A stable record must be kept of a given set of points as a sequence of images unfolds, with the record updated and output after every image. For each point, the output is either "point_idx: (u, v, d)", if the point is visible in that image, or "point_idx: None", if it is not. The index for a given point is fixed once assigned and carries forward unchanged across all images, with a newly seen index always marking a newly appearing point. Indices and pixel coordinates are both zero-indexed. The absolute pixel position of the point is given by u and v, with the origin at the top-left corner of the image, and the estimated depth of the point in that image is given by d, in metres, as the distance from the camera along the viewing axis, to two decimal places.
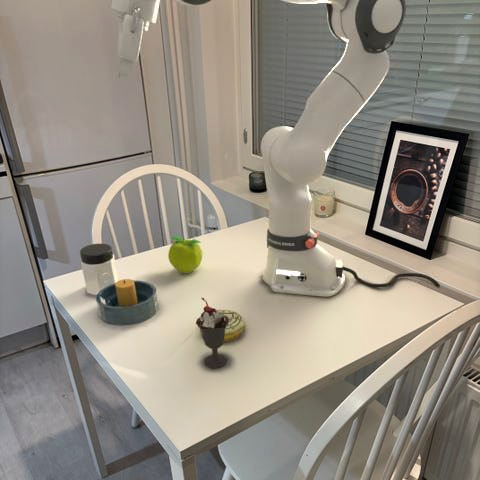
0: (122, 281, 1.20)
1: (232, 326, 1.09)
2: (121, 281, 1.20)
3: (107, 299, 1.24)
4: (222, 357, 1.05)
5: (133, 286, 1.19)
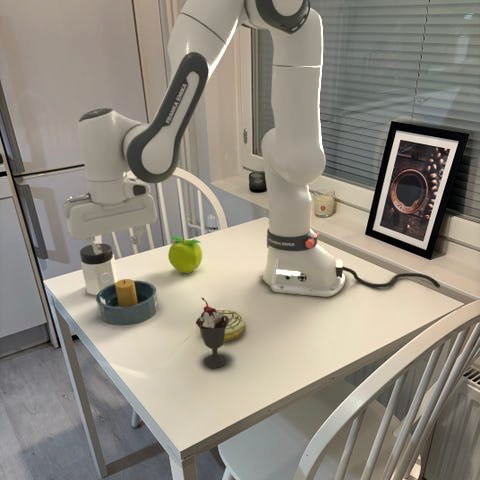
0: (122, 281, 1.20)
1: (232, 326, 1.09)
2: (121, 281, 1.20)
3: (107, 299, 1.24)
4: (222, 357, 1.05)
5: (133, 286, 1.19)
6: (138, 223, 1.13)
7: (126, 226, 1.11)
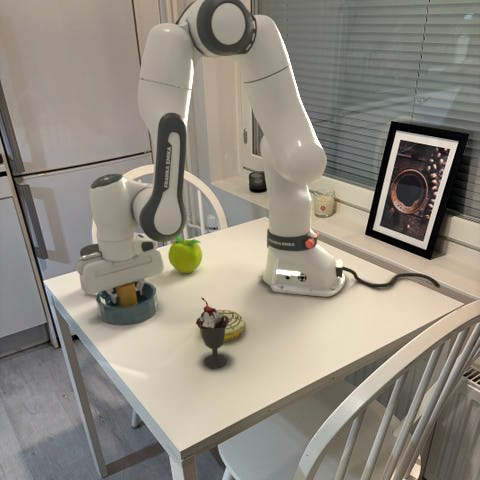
0: None
1: (232, 326, 1.09)
2: None
3: (107, 299, 1.24)
4: (222, 357, 1.05)
5: (133, 286, 1.19)
6: (146, 275, 1.20)
7: (135, 278, 1.18)
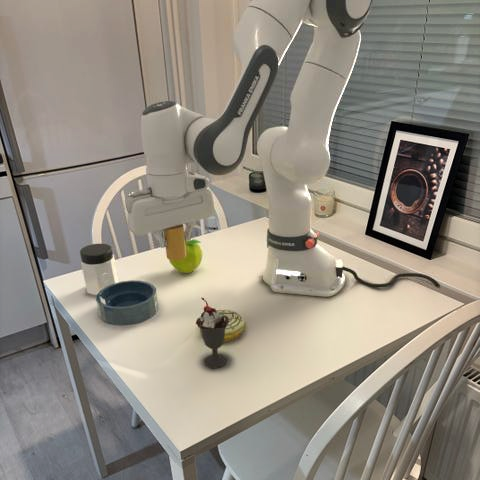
0: None
1: (232, 326, 1.09)
2: None
3: (107, 299, 1.24)
4: (222, 357, 1.05)
5: (182, 229, 1.11)
6: (196, 217, 1.12)
7: (185, 220, 1.10)
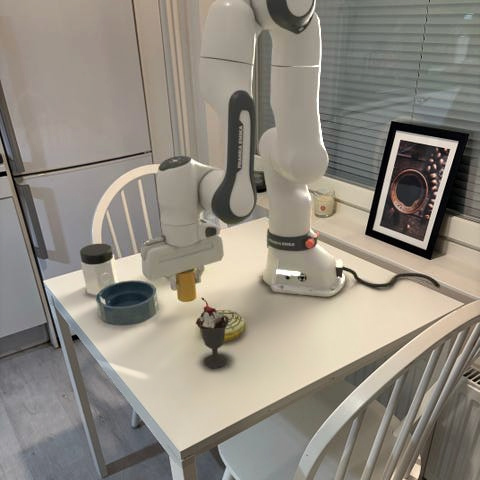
0: None
1: (232, 326, 1.09)
2: None
3: (107, 299, 1.24)
4: (222, 357, 1.05)
5: (193, 273, 1.16)
6: (207, 262, 1.17)
7: (196, 265, 1.16)
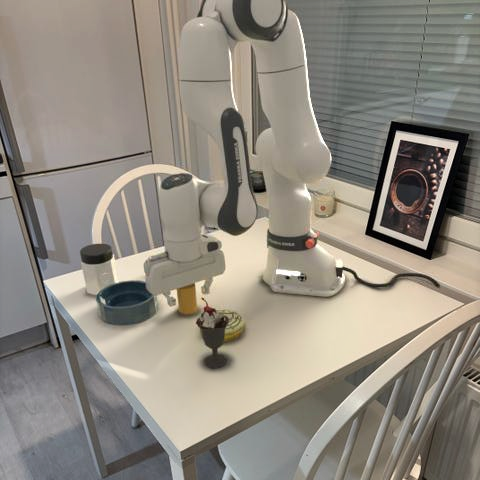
0: None
1: (232, 326, 1.09)
2: None
3: (107, 299, 1.24)
4: (222, 357, 1.05)
5: (194, 288, 1.19)
6: (209, 276, 1.19)
7: (199, 279, 1.18)
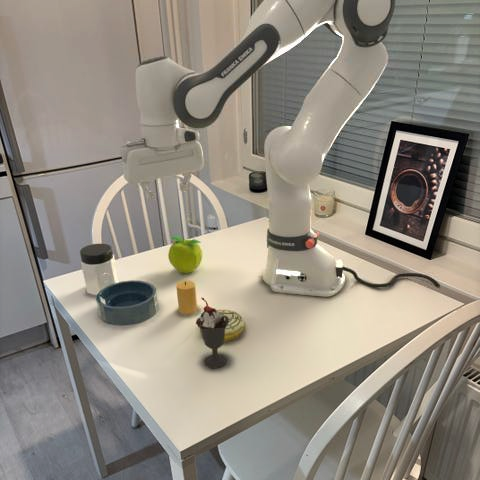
0: (183, 283, 1.20)
1: (232, 326, 1.09)
2: (182, 283, 1.20)
3: (107, 299, 1.24)
4: (222, 357, 1.05)
5: (194, 288, 1.19)
6: (187, 170, 1.20)
7: (177, 172, 1.18)
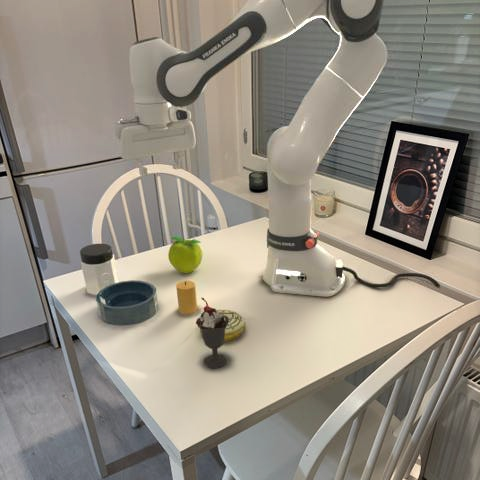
0: (183, 283, 1.20)
1: (232, 326, 1.09)
2: (182, 283, 1.20)
3: (107, 299, 1.24)
4: (222, 357, 1.05)
5: (194, 288, 1.19)
6: (179, 148, 1.25)
7: (169, 150, 1.24)
